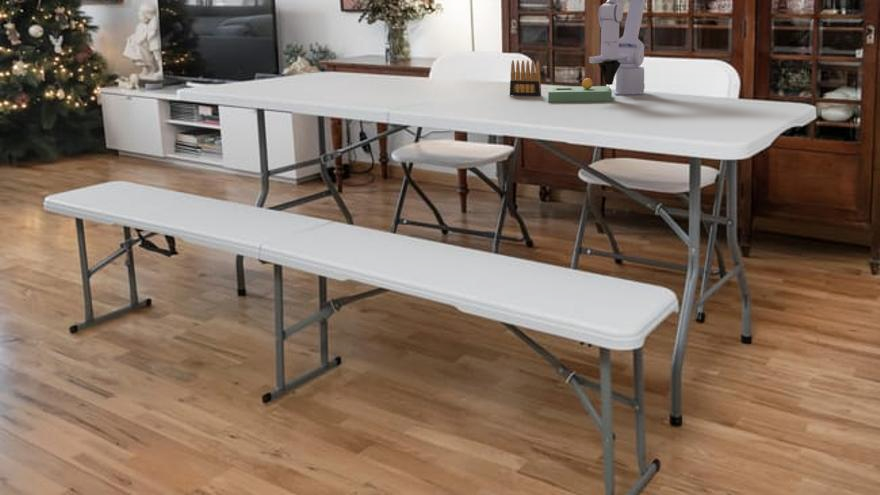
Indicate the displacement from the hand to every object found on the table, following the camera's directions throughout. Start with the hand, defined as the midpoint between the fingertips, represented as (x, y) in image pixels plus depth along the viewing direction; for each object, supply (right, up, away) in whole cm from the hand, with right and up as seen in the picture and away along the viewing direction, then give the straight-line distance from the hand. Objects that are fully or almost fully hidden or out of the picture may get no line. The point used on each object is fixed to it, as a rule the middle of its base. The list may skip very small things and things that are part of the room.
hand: (609, 84), depth 323 cm
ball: (-7, 0, +1) cm, 7 cm away
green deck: (-9, -4, +2) cm, 11 cm away
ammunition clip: (-26, -2, +15) cm, 30 cm away
